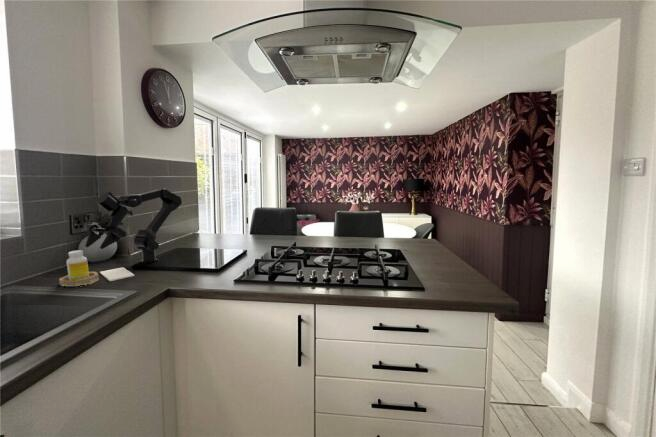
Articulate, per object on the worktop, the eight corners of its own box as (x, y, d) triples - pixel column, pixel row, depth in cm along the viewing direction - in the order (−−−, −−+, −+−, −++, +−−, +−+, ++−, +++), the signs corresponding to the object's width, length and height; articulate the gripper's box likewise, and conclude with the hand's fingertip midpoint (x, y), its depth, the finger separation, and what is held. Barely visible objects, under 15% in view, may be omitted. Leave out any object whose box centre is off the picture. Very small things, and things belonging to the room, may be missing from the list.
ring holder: (58, 282, 131) (57, 276, 131) (94, 275, 140) (93, 269, 139) (63, 290, 123) (62, 283, 122) (101, 281, 131) (100, 276, 131)
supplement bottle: (93, 281, 132) (89, 250, 130) (73, 286, 127) (69, 254, 125) (85, 278, 136) (81, 248, 134) (66, 283, 130) (62, 252, 128)
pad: (100, 273, 143) (99, 271, 143) (123, 268, 149) (123, 267, 149) (109, 281, 132) (109, 280, 132) (134, 275, 138) (134, 274, 138)
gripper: (87, 205, 141) (62, 235, 133) (116, 207, 135) (92, 238, 126) (107, 220, 150) (85, 249, 141) (136, 223, 143) (114, 253, 134)
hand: (93, 247), depth 136 cm, fingers open, 9 cm apart
